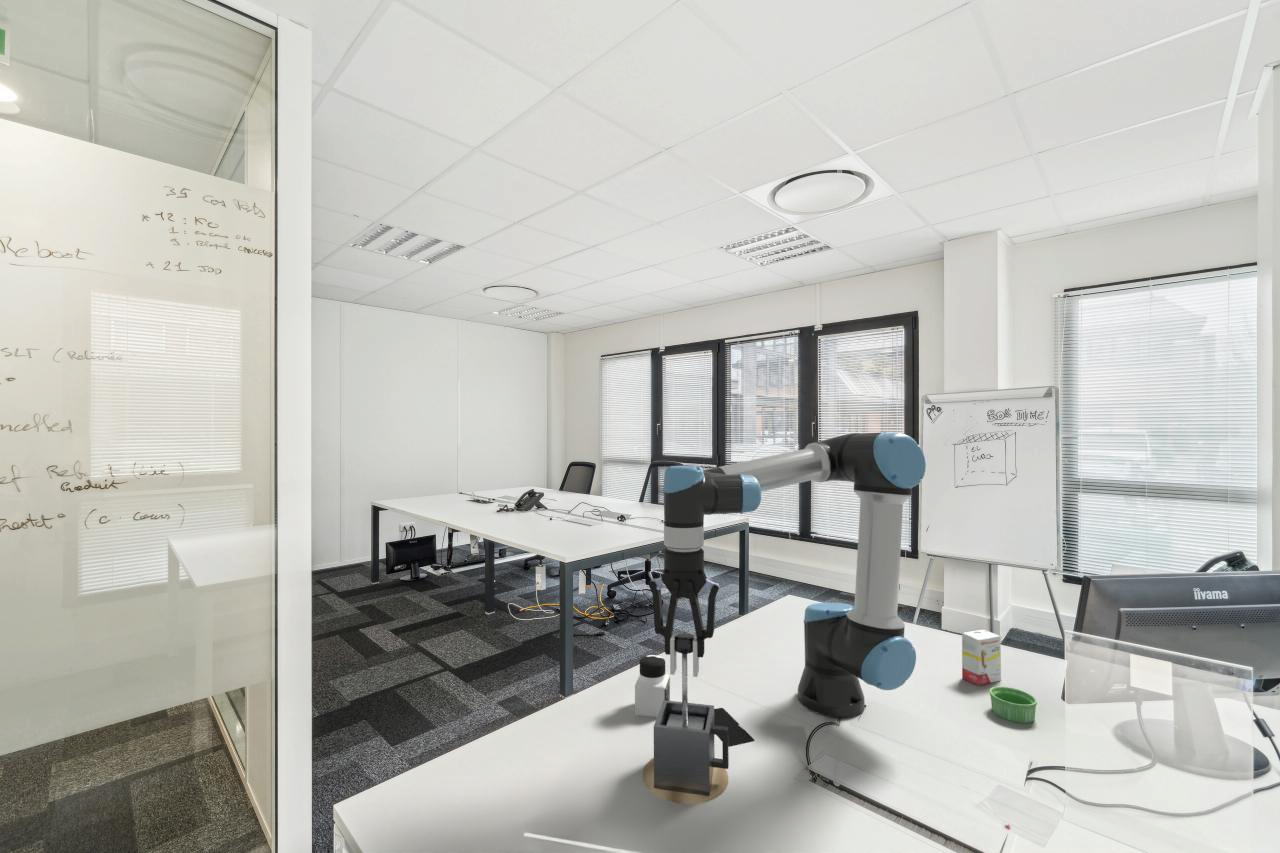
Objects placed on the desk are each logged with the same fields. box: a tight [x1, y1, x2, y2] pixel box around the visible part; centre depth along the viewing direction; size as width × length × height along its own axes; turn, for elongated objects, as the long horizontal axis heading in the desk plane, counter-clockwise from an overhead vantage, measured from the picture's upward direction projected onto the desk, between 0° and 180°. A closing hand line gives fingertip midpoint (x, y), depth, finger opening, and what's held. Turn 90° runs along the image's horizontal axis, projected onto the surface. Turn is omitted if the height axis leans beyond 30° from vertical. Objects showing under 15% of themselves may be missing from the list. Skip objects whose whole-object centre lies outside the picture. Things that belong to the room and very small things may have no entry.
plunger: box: [666, 633, 705, 730], centre depth 101 cm, size 7×7×17 cm
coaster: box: [642, 757, 730, 805], centre depth 100 cm, size 16×16×1 cm
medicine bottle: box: [634, 654, 671, 718], centre depth 125 cm, size 7×7×12 cm
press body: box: [653, 700, 730, 796], centre depth 100 cm, size 13×10×11 cm
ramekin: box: [988, 686, 1038, 724], centre depth 123 cm, size 9×9×4 cm
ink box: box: [961, 629, 1002, 686], centre depth 140 cm, size 9×5×12 cm, turn 110°
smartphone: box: [714, 707, 755, 748], centre depth 117 cm, size 7×1×15 cm
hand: (684, 672), depth 101 cm, fingers closed on plunger, 4 cm apart
